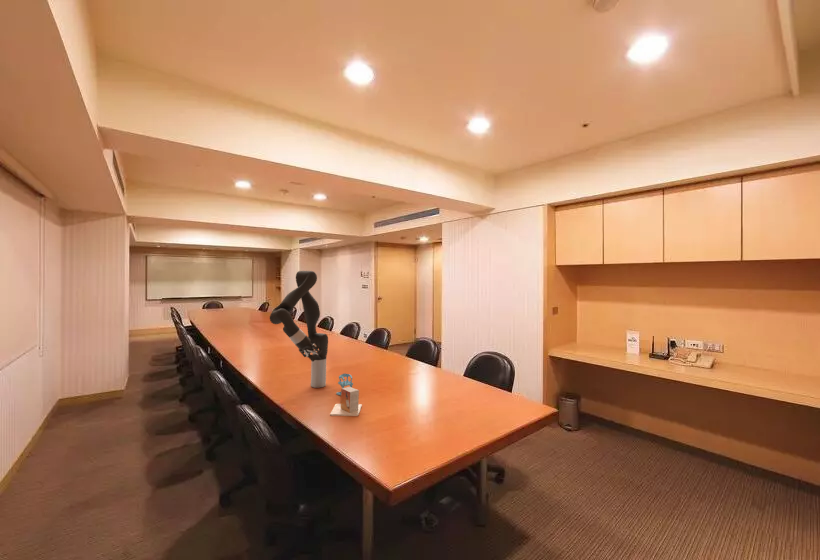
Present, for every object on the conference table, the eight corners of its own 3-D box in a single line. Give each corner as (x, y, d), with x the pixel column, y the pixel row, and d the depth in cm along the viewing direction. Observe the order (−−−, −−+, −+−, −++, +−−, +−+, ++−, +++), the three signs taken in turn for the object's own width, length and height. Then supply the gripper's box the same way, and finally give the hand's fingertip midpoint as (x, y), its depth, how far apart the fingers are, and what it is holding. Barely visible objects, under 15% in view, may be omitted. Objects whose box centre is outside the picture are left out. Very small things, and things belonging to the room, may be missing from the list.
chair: (342, 398, 193) (343, 377, 193) (336, 394, 200) (336, 373, 200) (354, 395, 198) (355, 375, 198) (347, 391, 205) (348, 371, 205)
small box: (340, 408, 175) (340, 388, 175) (349, 406, 179) (349, 386, 179) (349, 413, 170) (350, 392, 170) (358, 410, 174) (359, 389, 174)
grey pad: (335, 405, 182) (335, 403, 182) (361, 405, 182) (361, 404, 182) (330, 415, 168) (330, 413, 168) (358, 416, 168) (358, 414, 168)
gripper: (311, 331, 182) (330, 352, 187) (296, 336, 190) (314, 356, 196) (303, 341, 176) (322, 362, 182) (288, 345, 184) (307, 366, 190)
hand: (318, 359), depth 189 cm, fingers open, 8 cm apart
